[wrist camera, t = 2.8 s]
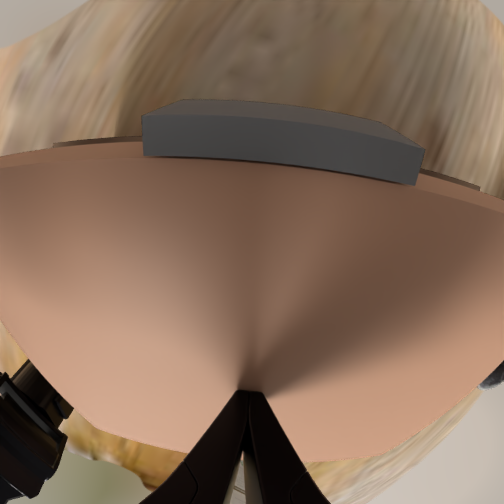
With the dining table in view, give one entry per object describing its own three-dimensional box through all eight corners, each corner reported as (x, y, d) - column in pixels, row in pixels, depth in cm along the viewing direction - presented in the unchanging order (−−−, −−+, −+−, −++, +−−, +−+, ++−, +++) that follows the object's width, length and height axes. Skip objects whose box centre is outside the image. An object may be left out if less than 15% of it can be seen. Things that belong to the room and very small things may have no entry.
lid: (103, 408, 16) (95, 430, 15) (-30, 138, 5) (-71, 163, 3) (378, 434, 16) (381, 457, 15) (560, 199, 5) (593, 230, 3)
